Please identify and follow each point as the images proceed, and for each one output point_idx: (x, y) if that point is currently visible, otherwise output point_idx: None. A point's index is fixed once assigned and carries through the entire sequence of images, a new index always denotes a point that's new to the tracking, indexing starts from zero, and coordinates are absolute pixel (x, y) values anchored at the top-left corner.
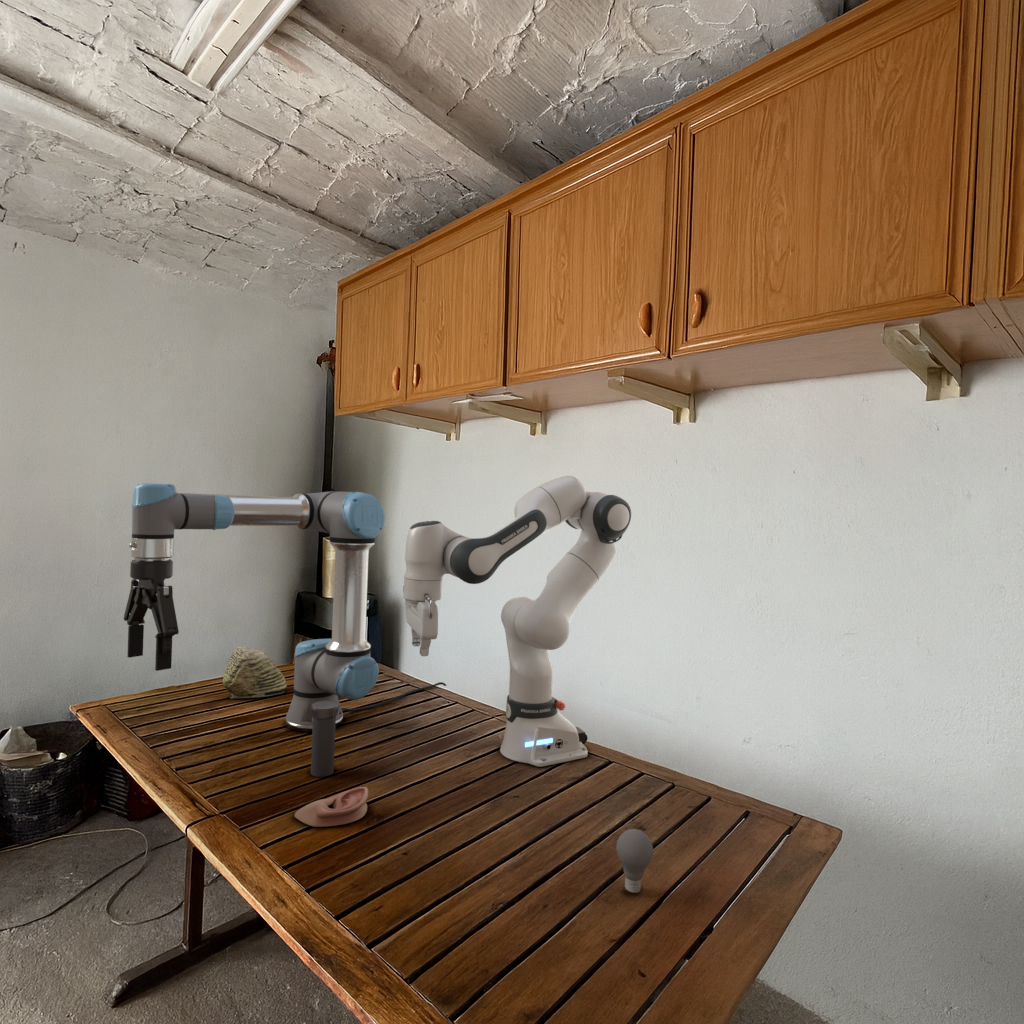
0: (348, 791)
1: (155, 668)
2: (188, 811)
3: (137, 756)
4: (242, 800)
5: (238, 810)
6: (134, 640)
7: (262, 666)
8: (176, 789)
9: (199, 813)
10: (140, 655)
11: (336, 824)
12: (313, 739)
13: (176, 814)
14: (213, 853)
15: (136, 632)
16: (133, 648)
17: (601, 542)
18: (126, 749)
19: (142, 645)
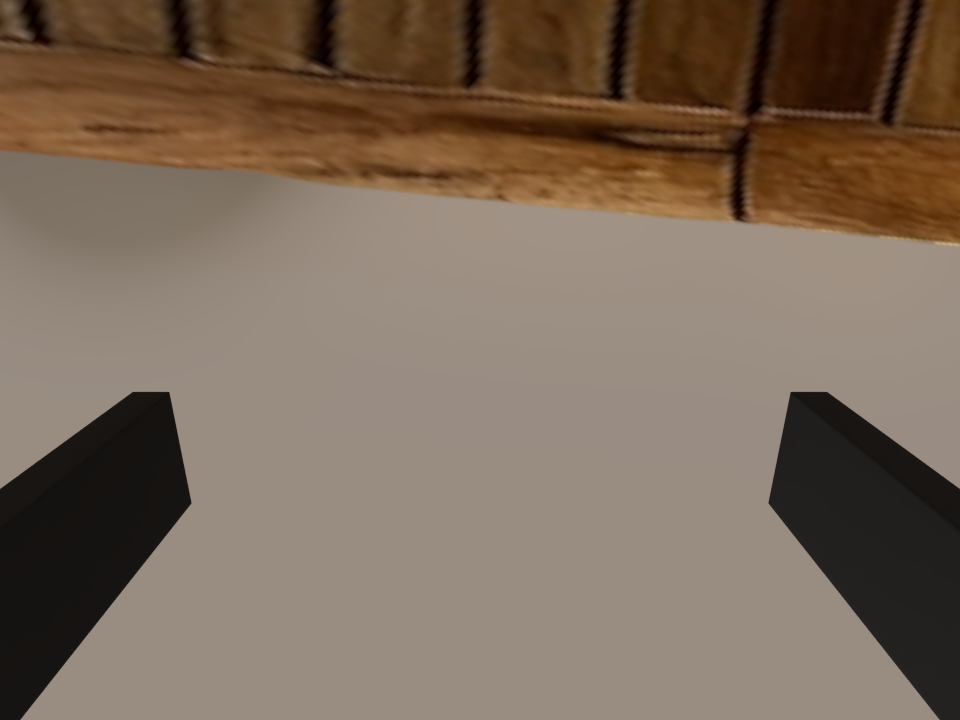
0: None
1: (780, 512)
2: (660, 181)
3: (109, 119)
4: (733, 12)
5: (782, 62)
6: (83, 575)
7: None
8: (487, 139)
9: (698, 163)
10: (168, 412)
11: None
12: None
13: (650, 215)
14: (924, 240)
15: (3, 640)
16: (141, 521)
17: None
18: (12, 122)
19: (107, 448)
